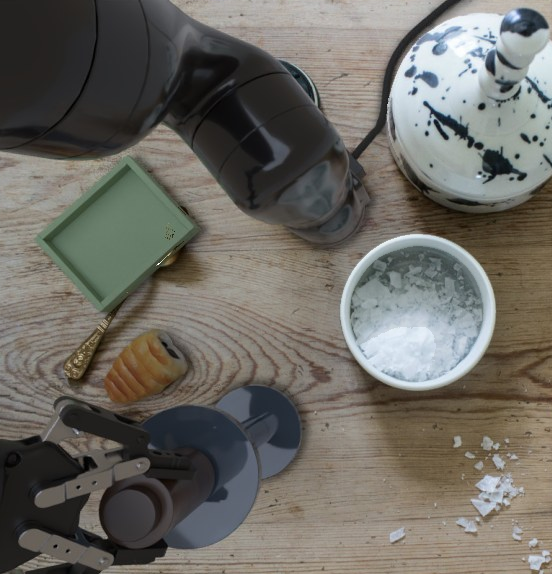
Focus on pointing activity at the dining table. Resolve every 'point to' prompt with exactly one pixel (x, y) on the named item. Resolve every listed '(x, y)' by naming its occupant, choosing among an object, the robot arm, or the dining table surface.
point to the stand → (229, 454)
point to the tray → (116, 234)
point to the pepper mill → (153, 503)
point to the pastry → (144, 368)
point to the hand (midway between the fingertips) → (176, 507)
